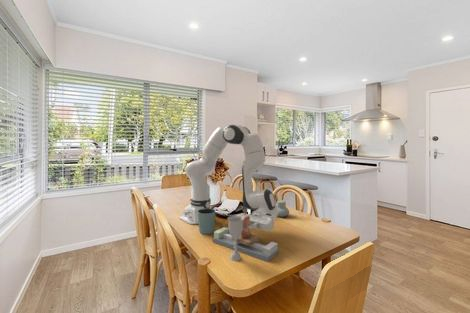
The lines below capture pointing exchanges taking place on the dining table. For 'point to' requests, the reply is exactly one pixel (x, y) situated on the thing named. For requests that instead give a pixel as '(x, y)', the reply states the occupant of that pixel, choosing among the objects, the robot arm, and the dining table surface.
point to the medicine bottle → (251, 210)
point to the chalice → (235, 233)
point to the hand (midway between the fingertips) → (244, 226)
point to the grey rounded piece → (282, 208)
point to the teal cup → (206, 220)
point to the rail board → (246, 246)
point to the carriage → (246, 233)
